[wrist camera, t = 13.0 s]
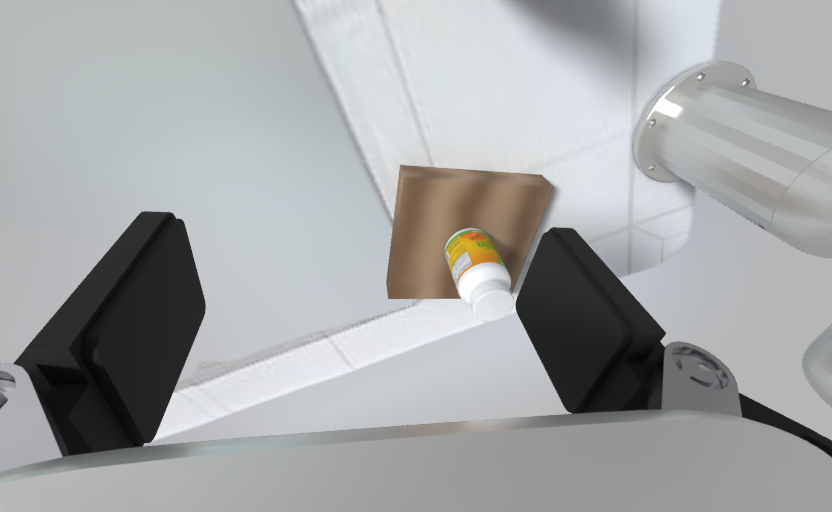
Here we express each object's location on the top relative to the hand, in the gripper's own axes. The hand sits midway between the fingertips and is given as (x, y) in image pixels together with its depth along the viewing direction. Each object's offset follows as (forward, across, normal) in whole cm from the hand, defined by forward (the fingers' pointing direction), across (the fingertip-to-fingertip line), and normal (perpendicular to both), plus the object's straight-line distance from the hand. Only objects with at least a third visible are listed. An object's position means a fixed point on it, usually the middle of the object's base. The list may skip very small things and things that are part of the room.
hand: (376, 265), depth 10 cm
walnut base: (+28, -13, +17) cm, 35 cm away
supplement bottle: (+26, -13, +17) cm, 33 cm away
